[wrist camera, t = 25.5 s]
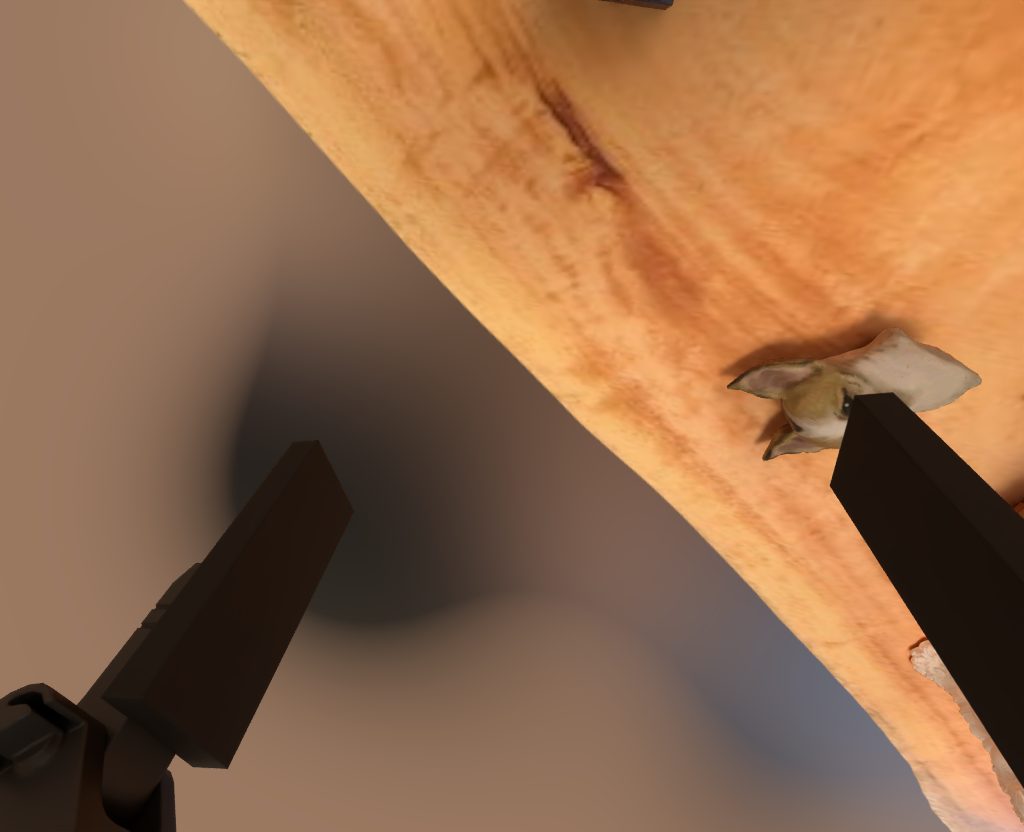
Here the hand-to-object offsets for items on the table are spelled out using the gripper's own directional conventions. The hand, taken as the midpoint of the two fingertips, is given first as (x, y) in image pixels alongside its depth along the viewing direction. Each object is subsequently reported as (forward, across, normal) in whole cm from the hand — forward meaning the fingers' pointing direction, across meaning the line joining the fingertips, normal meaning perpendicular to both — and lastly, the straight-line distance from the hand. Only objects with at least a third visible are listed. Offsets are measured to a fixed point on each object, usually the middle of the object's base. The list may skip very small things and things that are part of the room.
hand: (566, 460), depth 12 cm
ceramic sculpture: (+29, +20, -17) cm, 40 cm away
